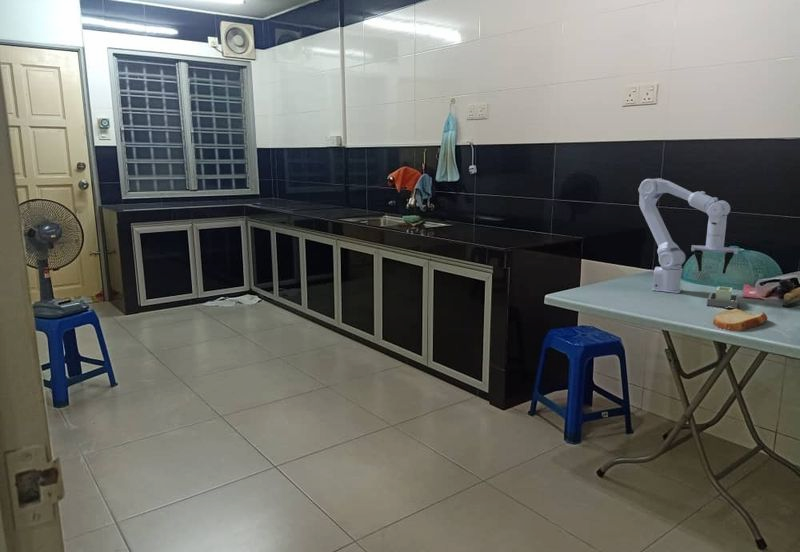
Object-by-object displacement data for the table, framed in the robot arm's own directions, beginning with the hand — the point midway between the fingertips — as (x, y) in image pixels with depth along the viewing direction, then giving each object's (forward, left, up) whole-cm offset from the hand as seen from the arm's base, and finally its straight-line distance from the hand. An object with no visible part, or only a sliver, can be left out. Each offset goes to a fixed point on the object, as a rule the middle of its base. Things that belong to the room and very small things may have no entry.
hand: (711, 272), depth 203 cm
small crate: (+5, -9, -9) cm, 14 cm away
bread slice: (+12, -33, -10) cm, 36 cm away
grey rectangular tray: (+5, -9, -9) cm, 14 cm away
